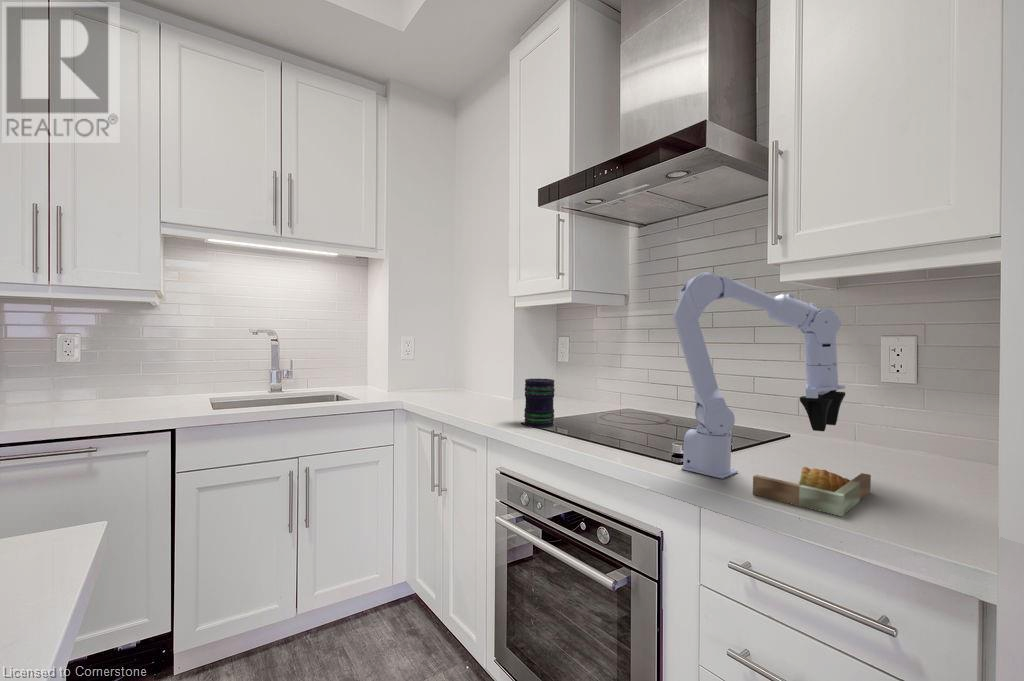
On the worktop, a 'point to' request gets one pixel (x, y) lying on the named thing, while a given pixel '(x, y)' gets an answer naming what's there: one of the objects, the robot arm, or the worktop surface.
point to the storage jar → (539, 403)
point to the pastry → (822, 479)
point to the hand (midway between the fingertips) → (824, 427)
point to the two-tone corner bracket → (814, 493)
